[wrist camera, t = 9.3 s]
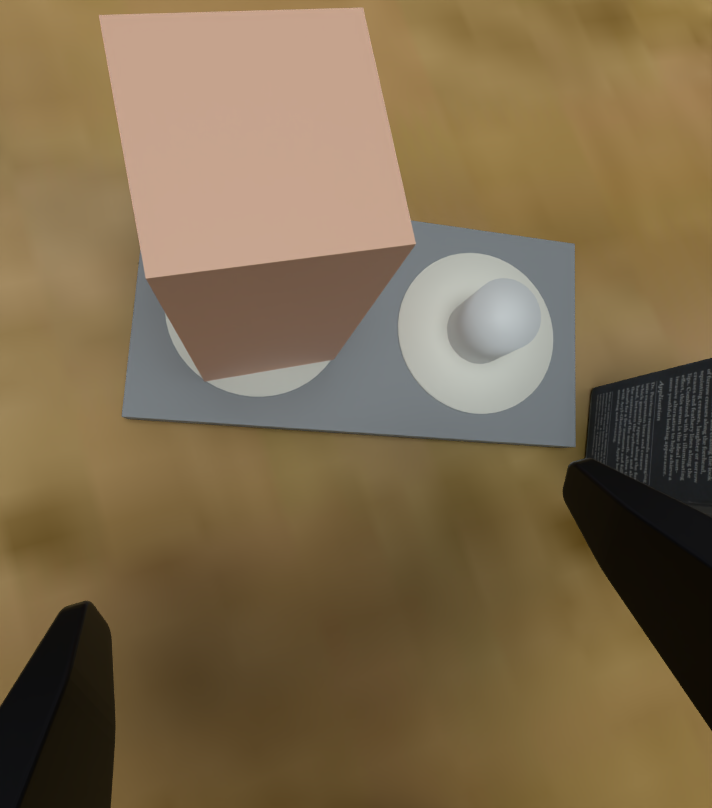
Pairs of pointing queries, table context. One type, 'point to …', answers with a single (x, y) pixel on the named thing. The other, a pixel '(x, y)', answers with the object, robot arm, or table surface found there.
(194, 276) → the pink block
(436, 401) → the plate
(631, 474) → the box
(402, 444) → the table surface
